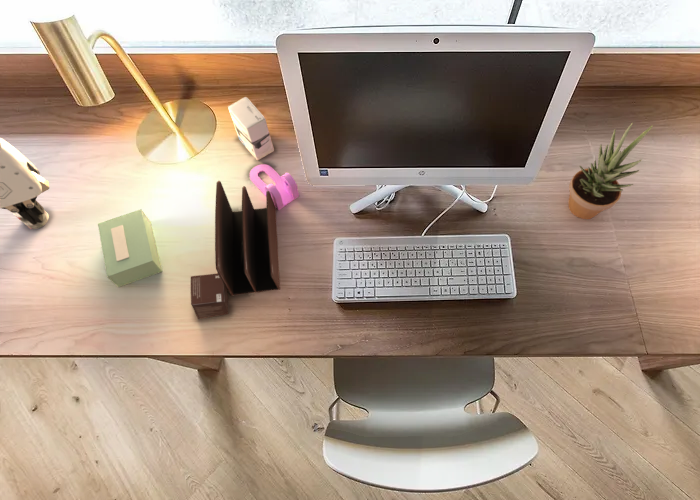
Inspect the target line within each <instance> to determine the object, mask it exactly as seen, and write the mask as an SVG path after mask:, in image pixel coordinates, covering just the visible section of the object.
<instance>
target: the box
mask: <svg viewBox="0 0 700 500" xmlns="http://www.w3.org/2000/svg"><path fill="white" fill-rule="evenodd" d="M190 305H191V308H192V309H193V311H194V314H195V315H196V318H197V320H201V319H208V318H213V317H219V316H224V315H228V314H229V291H228V290H227V288H226V287H225V285H224V283H223V282H222V280H221V278H220V276H219V274H218V273H217V272H216V273H210V274H199V275H190Z"/></svg>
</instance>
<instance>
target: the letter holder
mask: <svg viewBox="0 0 700 500" xmlns="http://www.w3.org/2000/svg"><path fill="white" fill-rule="evenodd" d="M215 187H216V188H215V205H214V207H215V208H214V209H215V210H214V211H215V213H214V253H215V257H214V258H215V259H214V260H215V262H214V263H215V270H216V274H217V273H218V274H219V276H220V278H221V280H222V282H223V283H224V285H225V287H226V288H227V291H228V294H229V295H230V296H231V297H234V296H239V295H248V294H257V293H263V292H269V291H270V292H271V291H279V290H281V284H280V281H281V280H280V266H279V265H280V264H279V247H278V246H279V244H278V228H277V225H278V224H277V208H276V207H275V205H274V202H273V199H272V197H271V194H270V192H269V191H267V192H266V196H265V198H266V207H263V208H254V204H253V203H252V201H251V197H250V195H249V192H248V191H247V187H246V186H242V188H241V210H238V211H237V210H236V211H234V210H233V209H232V206H231V204H230V201H229V199H228V196H227V193H226V191H225V189H224V186H223V184H222V181H221V180H218V181H216V185H215Z"/></svg>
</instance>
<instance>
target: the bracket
mask: <svg viewBox="0 0 700 500" xmlns="http://www.w3.org/2000/svg"><path fill="white" fill-rule="evenodd" d="M262 172H263V173H265V175H267V176H268V178H270V179H271V180H272V182H273V183H275V184H273V183H272V182H271V183H269V184H267V183H266V182H264V180H262V179H261V177H260V176H259V174H260V173H262ZM248 177H249V179H250V182H252V183H253V185H254V186H255V187H256V188H257V189H258V190H259V192H261V193H262V194H263V195H264V196H265V197H266V192H267V191H269V192H270V194H271V197H272V199H273V202H274V205H275V207H276V210H278V211H280V210H282V209H283V208H284V207H286V206H287V205H289V204H290V203H292V202H293V201H294V200H296V199H297V198H299V197H300V194H299V193H300V192H299V189H298V185H297V182H296V180H295V179H294V177H293V176H292V175H291V174H290V173H289V172H285V173H284V174H282V175H280V174H279V173H278V172H277V171H276V170H275V169H274V168H273V167H272V166H271V165H269V164H266V163H261V164H257V165H255V166H254V167H252V169H250V171H249V176H248Z"/></svg>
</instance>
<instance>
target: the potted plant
mask: <svg viewBox="0 0 700 500" xmlns="http://www.w3.org/2000/svg"><path fill="white" fill-rule="evenodd" d="M633 124H634V122H631V123H630V124H629V126H628V127H627V128H626V130H625V131H624V133H623V134H622V137H620V138H621V139H620V140H619V142H618V143H617V146H616V148H615V139H616V131H617V130H616V128H615V129H613V133H612V134H611V138H610V141H609V144H606V145H605V149H604V150H603V146H602V145H603V144H600V145H599V148H598V154H597V160H596V159H594V162H593V163H592V162H591V163H590V166H588V168H584V167H582V165H579V168H580V170H579V171H577V172H576V173H575V174H574V175H573V176H572V178H571V180H570V181H569V185H568V187H569V189H568V190H569V191H568V192H569V197H568V202H567V203H568V204H567V205H568V208H569V211H570V213H571V214H572V215H573V216H574V217H576V218H578V219H581V220H582V219H583V220H590V219H592V218H595V217H596V216H597V215H598V214H600V213H601V212H603V211H606V210H609V209H611V208H613V207H614V206H615V205H616V204H617V203H618V202H619V200H620V198H621V196H622V191H624V189H623V188H628V187H631V186H634V183H629V184H620V183H619V182H618V180H621V179H624V178H627V177H630V176H632V175H635V174H637V173H638V172H639V171H640V169H637V170H632V171H631V170H630V171H628V170H629V169H631V168H634V167H635V166H637V165H639V163H641V162H642V161H643V159H639V160H637V161H633V162H630V163H626V164H622V163H623V162H624V160H625V159H627V157H628V155H629V154H630V153H631V152H632V151H633V149H635V147H636V146H637V145H638V144H639V143H640V142H641V141H642V140H643V139H644V138H645V137H646V135H647V134H648V133H649V132H650V131H651V129H652V128H653V126H654V125H653V124H652V125H650V126H649V127H648V128H647V129H646V130H644V131H643V132H641V134H640V135H638V136H637V137H636V138H635V139H634V140H633V141H632V142H631V143H630V144H629V145H628V146H627V147H626V148H624V149H623V150H622V151H621V148H622V146H623V144H624V142H625V140H626V138H627V136H628V134H629V132H630V130H631V128H632V126H633ZM603 151H604V152H603Z"/></svg>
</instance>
